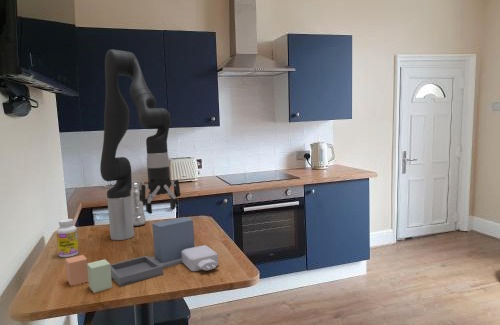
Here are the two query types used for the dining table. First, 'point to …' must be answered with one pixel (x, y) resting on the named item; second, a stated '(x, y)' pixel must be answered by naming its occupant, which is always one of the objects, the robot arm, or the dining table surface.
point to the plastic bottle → (137, 206)
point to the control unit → (172, 240)
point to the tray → (135, 270)
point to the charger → (200, 258)
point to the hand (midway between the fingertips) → (161, 211)
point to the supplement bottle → (67, 238)
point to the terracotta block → (77, 270)
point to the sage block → (99, 275)
